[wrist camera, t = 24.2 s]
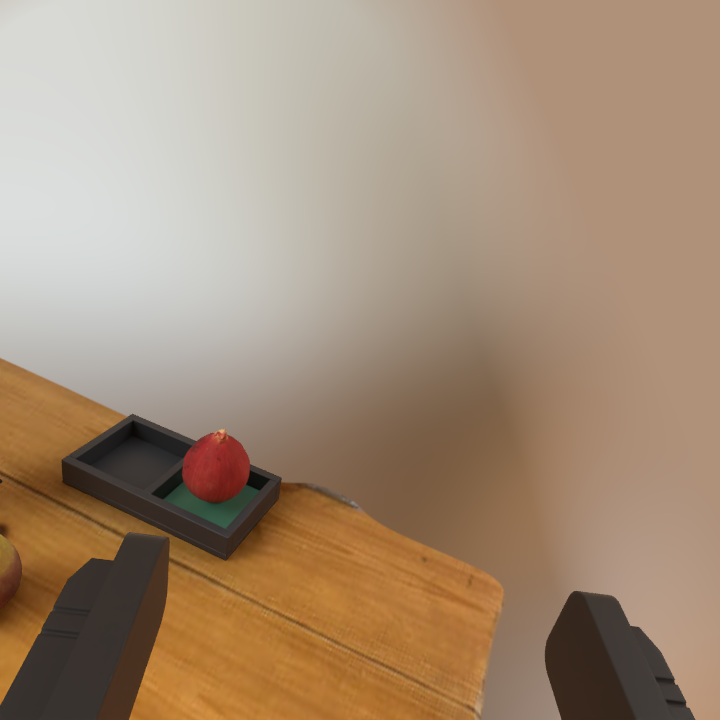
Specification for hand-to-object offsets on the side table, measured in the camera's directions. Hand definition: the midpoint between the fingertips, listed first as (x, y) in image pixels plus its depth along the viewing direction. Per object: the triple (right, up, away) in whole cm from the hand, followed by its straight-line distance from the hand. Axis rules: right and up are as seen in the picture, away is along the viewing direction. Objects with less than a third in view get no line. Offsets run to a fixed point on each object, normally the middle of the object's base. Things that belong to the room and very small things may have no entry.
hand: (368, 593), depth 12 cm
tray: (-18, -8, +44) cm, 48 cm away
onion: (-14, -8, +42) cm, 45 cm away
